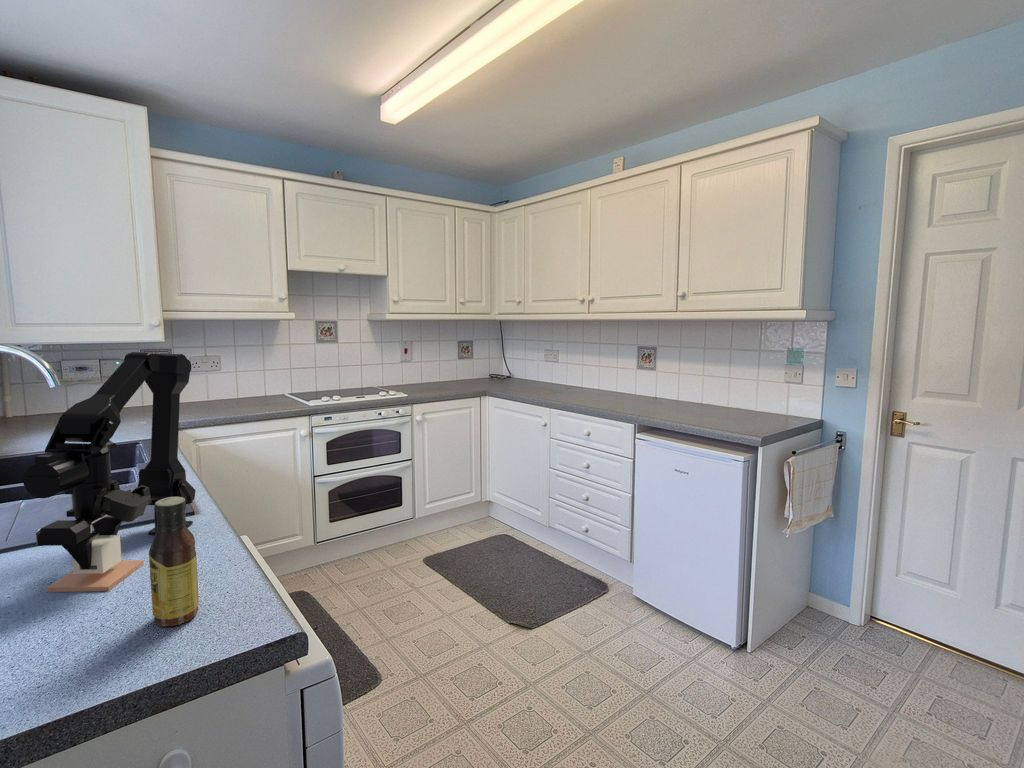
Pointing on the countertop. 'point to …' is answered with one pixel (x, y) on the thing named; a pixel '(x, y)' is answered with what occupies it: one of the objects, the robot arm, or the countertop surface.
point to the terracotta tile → (96, 578)
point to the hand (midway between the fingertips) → (97, 561)
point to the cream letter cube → (101, 555)
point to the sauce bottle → (173, 565)
